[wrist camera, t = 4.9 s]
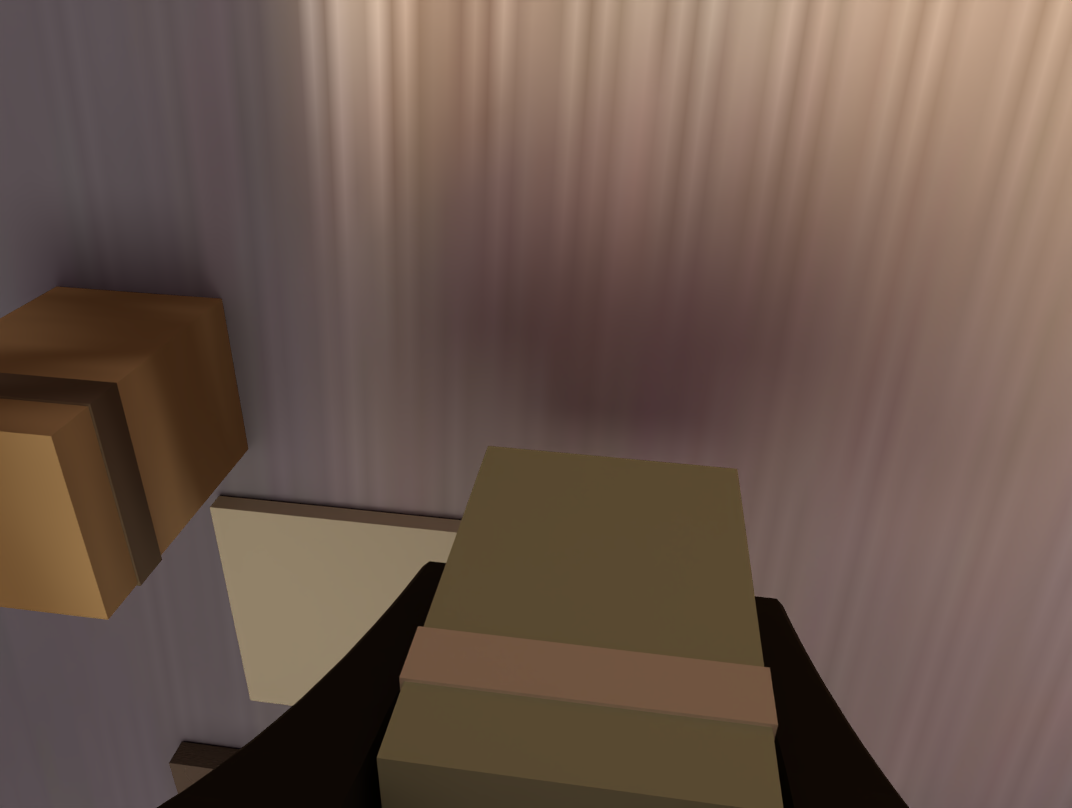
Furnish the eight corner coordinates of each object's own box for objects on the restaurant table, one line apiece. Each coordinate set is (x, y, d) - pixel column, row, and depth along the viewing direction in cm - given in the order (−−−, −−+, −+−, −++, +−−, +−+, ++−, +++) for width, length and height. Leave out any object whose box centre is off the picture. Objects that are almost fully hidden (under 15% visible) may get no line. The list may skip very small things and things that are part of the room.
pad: (606, 534, 20) (605, 548, 20) (591, 729, 24) (589, 743, 23) (219, 495, 21) (210, 507, 21) (257, 686, 25) (250, 700, 24)
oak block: (223, 296, 19) (53, 433, 13) (250, 450, 21) (111, 621, 15) (54, 283, 19) (-175, 412, 14) (96, 436, 21) (-89, 597, 16)
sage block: (740, 466, 13) (790, 811, 8) (708, 655, 15) (731, 1030, 10) (485, 442, 14) (371, 753, 8) (486, 629, 16) (395, 975, 10)
